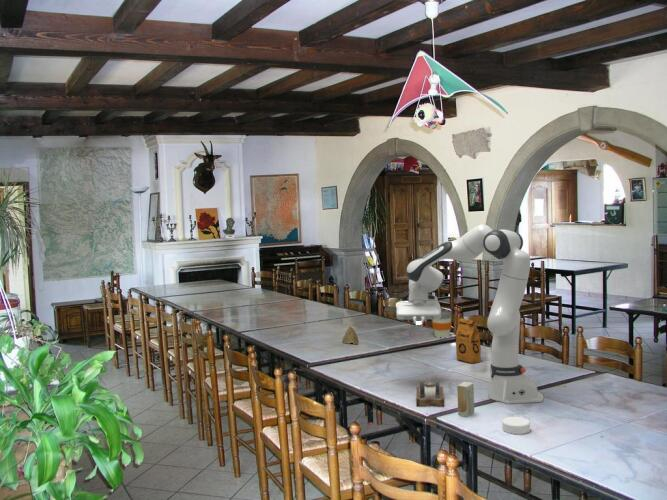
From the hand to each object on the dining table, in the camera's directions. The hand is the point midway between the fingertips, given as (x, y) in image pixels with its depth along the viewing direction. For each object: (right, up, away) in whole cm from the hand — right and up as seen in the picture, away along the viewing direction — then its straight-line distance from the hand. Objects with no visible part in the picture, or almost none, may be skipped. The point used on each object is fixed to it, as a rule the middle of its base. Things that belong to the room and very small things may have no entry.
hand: (418, 326), depth 290 cm
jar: (+3, -31, -15) cm, 34 cm away
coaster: (+29, -33, -50) cm, 67 cm away
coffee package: (+33, -25, +51) cm, 65 cm away
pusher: (+4, -30, -8) cm, 31 cm away
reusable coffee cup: (+29, -20, +113) cm, 118 cm away
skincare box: (+15, -32, -31) cm, 47 cm away
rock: (-28, -23, +102) cm, 109 cm away
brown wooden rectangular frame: (+3, -30, -12) cm, 33 cm away
